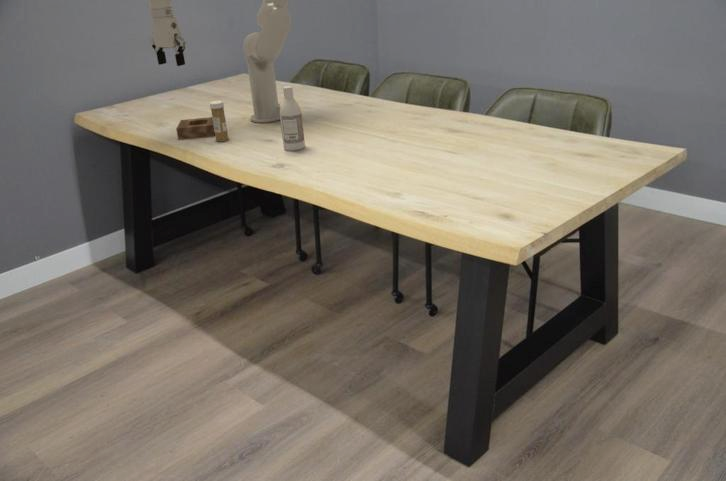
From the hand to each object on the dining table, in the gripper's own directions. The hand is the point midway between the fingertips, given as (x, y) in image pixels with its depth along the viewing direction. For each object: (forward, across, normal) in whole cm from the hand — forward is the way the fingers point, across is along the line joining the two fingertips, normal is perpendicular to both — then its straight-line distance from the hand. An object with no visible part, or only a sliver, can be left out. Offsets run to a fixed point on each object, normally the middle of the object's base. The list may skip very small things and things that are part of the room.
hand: (171, 64), depth 250 cm
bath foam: (+26, -49, -4) cm, 56 cm away
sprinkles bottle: (+25, -19, -1) cm, 31 cm away
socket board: (+25, -4, -4) cm, 26 cm away
